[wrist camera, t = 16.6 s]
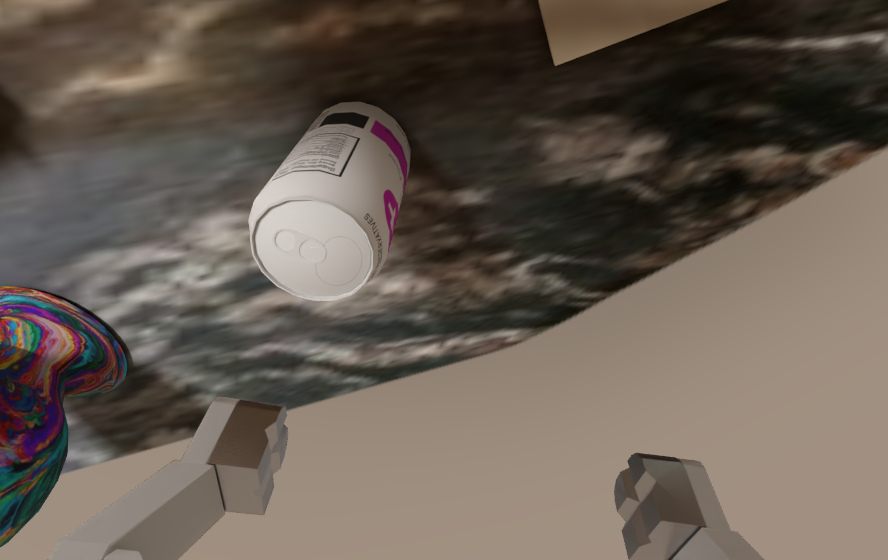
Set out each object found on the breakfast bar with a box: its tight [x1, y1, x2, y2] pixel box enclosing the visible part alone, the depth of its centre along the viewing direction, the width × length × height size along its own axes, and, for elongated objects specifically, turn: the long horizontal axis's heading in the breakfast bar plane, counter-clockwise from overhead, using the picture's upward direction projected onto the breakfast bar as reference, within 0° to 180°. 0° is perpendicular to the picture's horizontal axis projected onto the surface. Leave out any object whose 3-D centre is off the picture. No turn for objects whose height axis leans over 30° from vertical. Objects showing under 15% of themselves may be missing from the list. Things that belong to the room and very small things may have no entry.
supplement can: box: [248, 102, 411, 301], centre depth 34 cm, size 8×8×15 cm
